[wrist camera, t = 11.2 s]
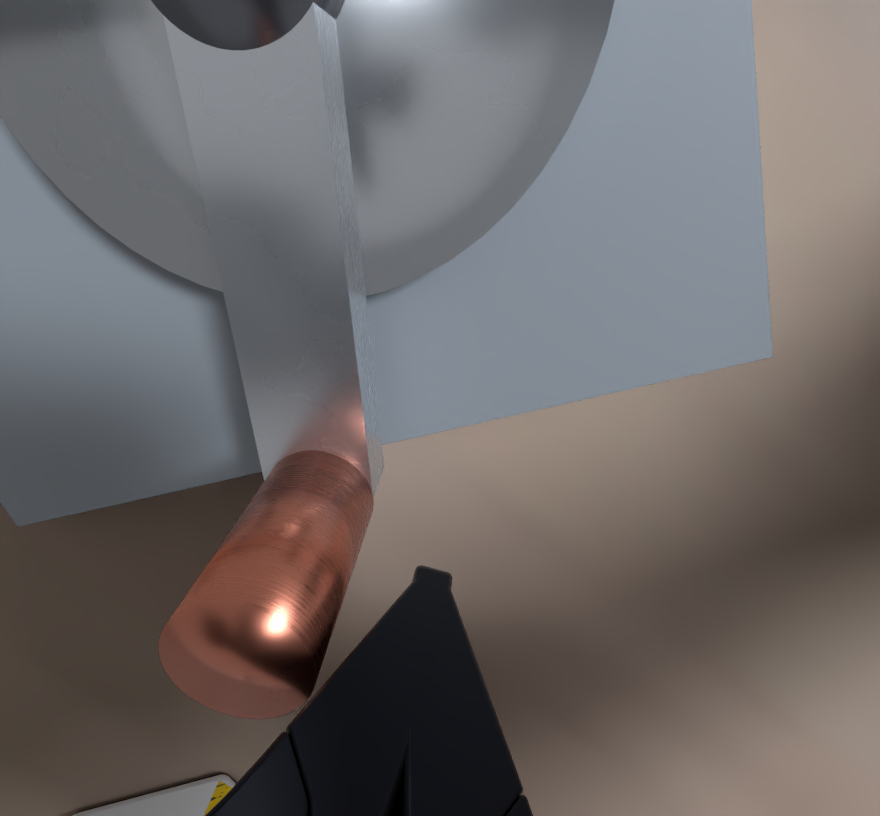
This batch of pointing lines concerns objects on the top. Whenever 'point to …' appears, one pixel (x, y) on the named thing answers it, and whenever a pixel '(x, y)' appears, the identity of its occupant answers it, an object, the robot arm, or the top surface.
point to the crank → (293, 237)
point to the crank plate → (413, 289)
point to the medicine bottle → (171, 800)
